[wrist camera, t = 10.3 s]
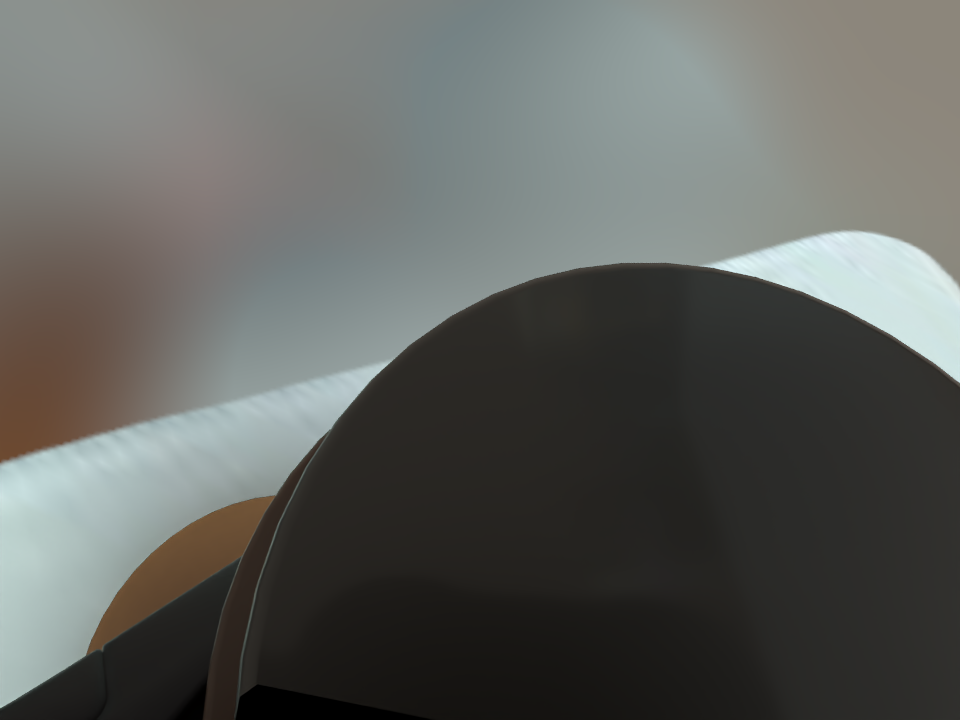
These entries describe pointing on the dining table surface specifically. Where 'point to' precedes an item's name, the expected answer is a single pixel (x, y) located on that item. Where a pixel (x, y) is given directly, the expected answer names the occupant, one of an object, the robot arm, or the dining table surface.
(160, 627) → the robot arm
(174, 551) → the disc
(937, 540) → the pepper mill
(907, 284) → the dining table surface
